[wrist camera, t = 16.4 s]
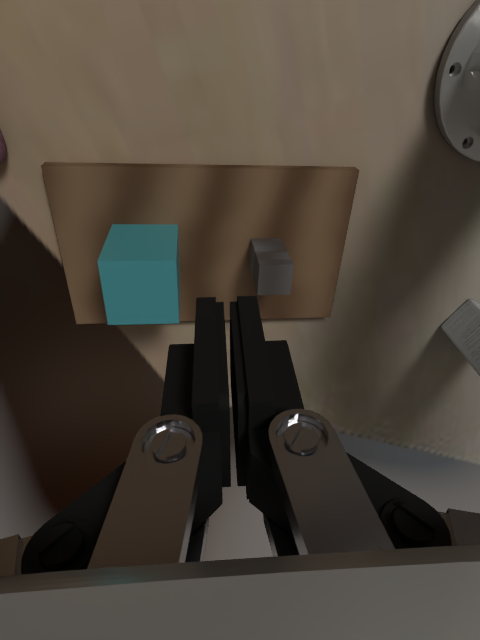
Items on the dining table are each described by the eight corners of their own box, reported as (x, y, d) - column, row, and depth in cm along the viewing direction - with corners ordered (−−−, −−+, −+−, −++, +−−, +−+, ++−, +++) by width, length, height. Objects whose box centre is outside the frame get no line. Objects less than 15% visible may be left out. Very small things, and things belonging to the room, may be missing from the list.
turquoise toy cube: (177, 224, 33) (176, 260, 28) (180, 280, 36) (179, 323, 31) (112, 224, 33) (97, 261, 27) (119, 281, 36) (108, 325, 30)
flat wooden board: (354, 167, 33) (384, 189, 28) (327, 311, 41) (346, 348, 36) (44, 162, 31) (17, 186, 26) (78, 317, 38) (63, 359, 34)
